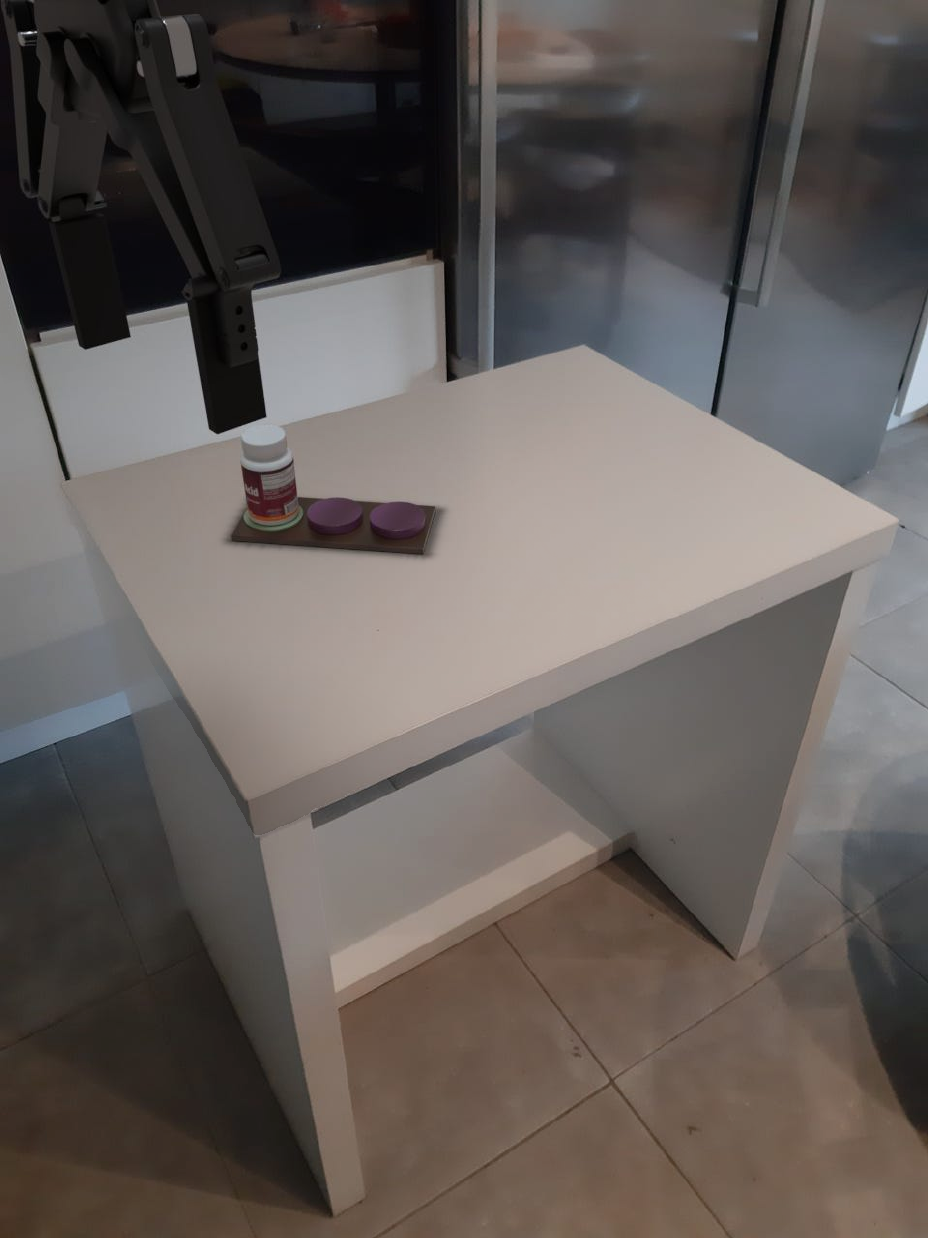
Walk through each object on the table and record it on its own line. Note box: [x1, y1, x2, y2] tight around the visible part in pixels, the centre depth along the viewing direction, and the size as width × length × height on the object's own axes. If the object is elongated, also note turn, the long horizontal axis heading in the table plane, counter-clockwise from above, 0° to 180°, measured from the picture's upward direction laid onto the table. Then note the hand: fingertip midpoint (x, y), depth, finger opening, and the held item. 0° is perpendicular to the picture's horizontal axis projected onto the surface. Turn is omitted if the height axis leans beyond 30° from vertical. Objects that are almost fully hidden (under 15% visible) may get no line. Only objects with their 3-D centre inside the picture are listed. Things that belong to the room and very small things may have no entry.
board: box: [230, 496, 436, 555], centre depth 93 cm, size 18×8×2 cm, turn 83°
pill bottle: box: [239, 424, 299, 526], centre depth 91 cm, size 5×5×8 cm
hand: (166, 379), depth 50 cm, fingers open, 13 cm apart
